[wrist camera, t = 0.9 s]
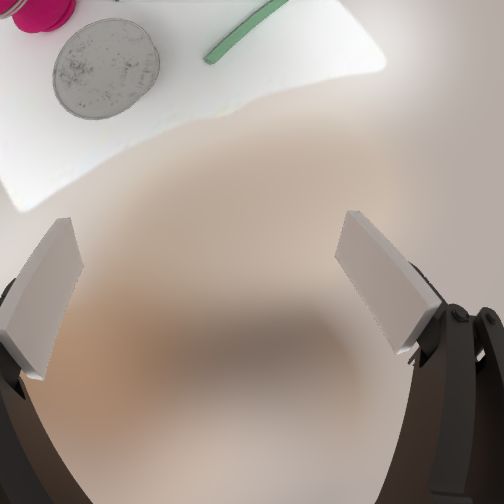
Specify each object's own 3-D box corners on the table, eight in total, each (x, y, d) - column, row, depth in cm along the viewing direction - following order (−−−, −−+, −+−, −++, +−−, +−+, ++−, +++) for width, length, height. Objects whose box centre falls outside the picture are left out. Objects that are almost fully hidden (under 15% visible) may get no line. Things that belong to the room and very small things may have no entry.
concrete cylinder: (125, 22, 22) (106, 0, 12) (175, 64, 27) (179, 60, 18) (74, 78, 24) (34, 85, 15) (123, 118, 30) (103, 140, 20)
